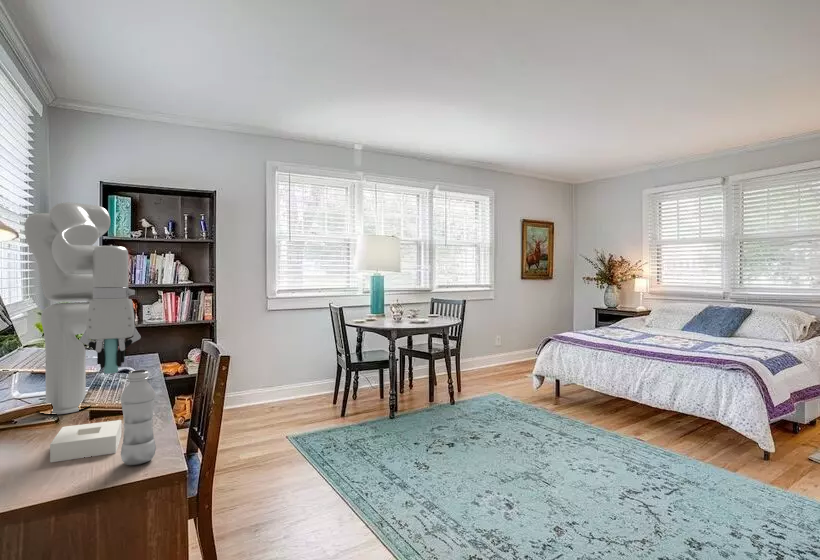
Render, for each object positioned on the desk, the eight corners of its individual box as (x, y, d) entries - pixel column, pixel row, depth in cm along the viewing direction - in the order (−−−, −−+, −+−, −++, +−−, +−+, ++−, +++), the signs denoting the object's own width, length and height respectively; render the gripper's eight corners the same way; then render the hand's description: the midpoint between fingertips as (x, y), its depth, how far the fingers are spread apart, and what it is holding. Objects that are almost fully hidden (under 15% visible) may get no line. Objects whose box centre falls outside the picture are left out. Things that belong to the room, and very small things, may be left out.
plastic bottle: (162, 458, 101) (163, 369, 100) (135, 471, 94) (135, 376, 94) (141, 454, 103) (141, 367, 102) (113, 466, 96) (113, 373, 96)
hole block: (62, 443, 108) (62, 426, 108) (121, 435, 114) (121, 419, 114) (50, 462, 98) (50, 444, 98) (115, 453, 103) (115, 435, 103)
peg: (104, 371, 116) (104, 334, 116) (118, 370, 117) (118, 334, 117) (103, 374, 113) (103, 336, 113) (117, 373, 114) (117, 335, 114)
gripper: (148, 293, 122) (148, 361, 122) (74, 294, 114) (74, 366, 114) (147, 294, 115) (147, 366, 116) (68, 295, 108) (68, 372, 108)
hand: (111, 365), depth 115 cm, fingers closed on peg, 3 cm apart
